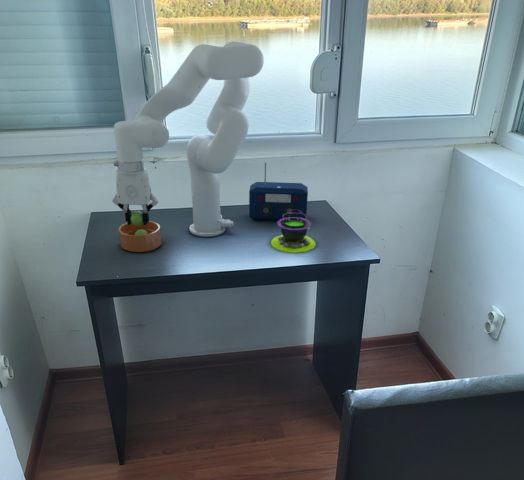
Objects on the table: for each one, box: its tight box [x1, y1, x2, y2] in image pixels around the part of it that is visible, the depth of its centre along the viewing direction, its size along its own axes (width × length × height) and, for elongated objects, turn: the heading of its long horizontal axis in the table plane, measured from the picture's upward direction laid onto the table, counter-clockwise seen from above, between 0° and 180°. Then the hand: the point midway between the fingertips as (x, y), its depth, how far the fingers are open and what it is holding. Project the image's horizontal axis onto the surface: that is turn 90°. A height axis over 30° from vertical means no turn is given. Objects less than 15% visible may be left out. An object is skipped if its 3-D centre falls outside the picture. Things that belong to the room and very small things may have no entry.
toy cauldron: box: [270, 209, 316, 254], centre depth 172 cm, size 15×15×11 cm
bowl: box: [118, 220, 163, 253], centre depth 170 cm, size 13×13×6 cm
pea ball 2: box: [135, 230, 148, 235], centre depth 170 cm, size 5×5×5 cm
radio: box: [248, 162, 309, 222], centre depth 188 cm, size 21×9×20 cm, turn 87°
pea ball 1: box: [130, 210, 143, 226], centre depth 166 cm, size 5×5×5 cm
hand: (137, 223), depth 167 cm, fingers closed on pea ball 1, 4 cm apart
